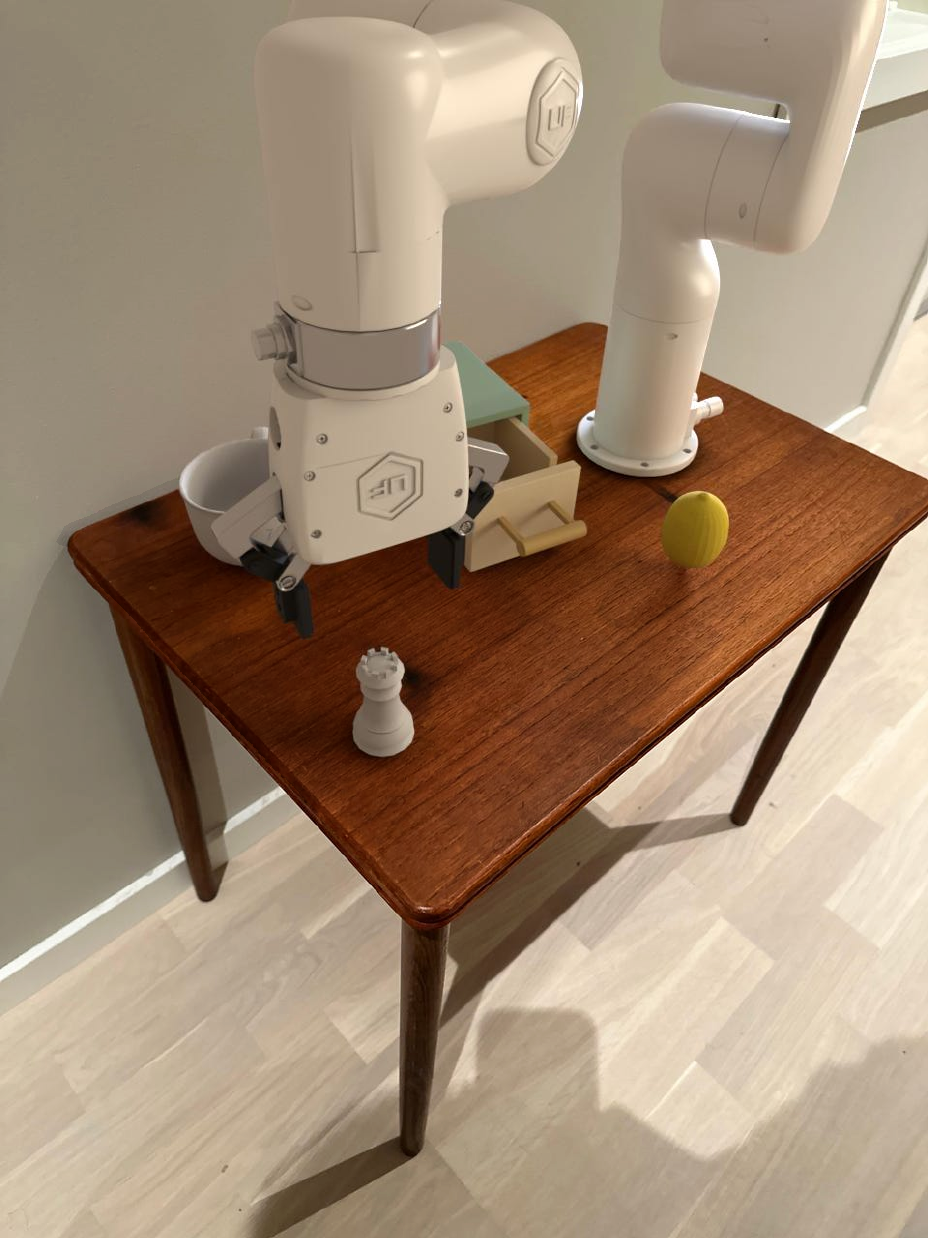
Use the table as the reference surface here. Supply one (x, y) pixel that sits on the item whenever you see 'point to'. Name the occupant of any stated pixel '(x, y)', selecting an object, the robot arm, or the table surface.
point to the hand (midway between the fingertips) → (373, 599)
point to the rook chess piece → (382, 706)
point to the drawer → (523, 499)
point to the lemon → (695, 529)
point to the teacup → (225, 487)
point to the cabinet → (485, 391)
